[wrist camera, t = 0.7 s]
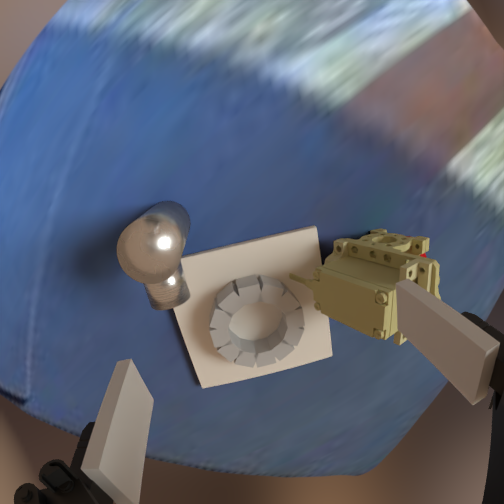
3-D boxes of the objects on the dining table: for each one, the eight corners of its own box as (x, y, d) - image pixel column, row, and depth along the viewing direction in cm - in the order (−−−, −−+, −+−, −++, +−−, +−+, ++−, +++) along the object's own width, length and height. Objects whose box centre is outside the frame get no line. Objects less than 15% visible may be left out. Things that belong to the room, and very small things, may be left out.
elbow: (141, 207, 34) (108, 228, 22) (184, 195, 34) (171, 211, 22) (159, 271, 36) (138, 319, 24) (200, 261, 36) (197, 306, 25)
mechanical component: (369, 266, 47) (487, 301, 30) (278, 304, 39) (417, 375, 22) (369, 216, 45) (495, 239, 28) (273, 242, 37) (431, 290, 20)
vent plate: (160, 261, 35) (155, 272, 32) (313, 225, 37) (325, 232, 33) (202, 383, 41) (202, 402, 37) (329, 352, 42) (340, 368, 38)
